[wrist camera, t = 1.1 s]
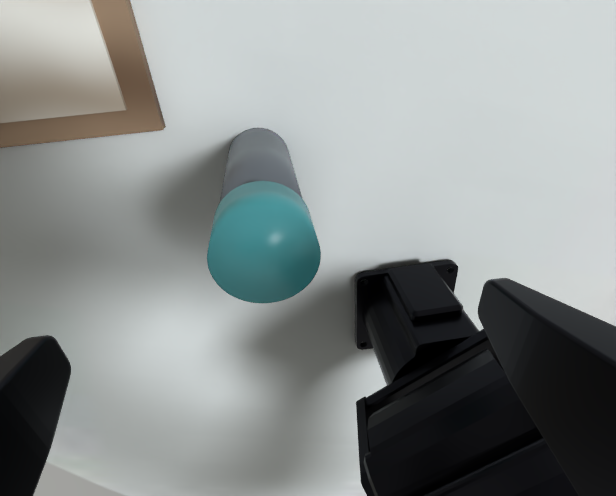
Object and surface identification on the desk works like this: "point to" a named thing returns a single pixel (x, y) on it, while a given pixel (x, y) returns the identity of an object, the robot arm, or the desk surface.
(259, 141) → the glue stick
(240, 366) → the desk surface
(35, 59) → the clipboard
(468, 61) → the desk surface
